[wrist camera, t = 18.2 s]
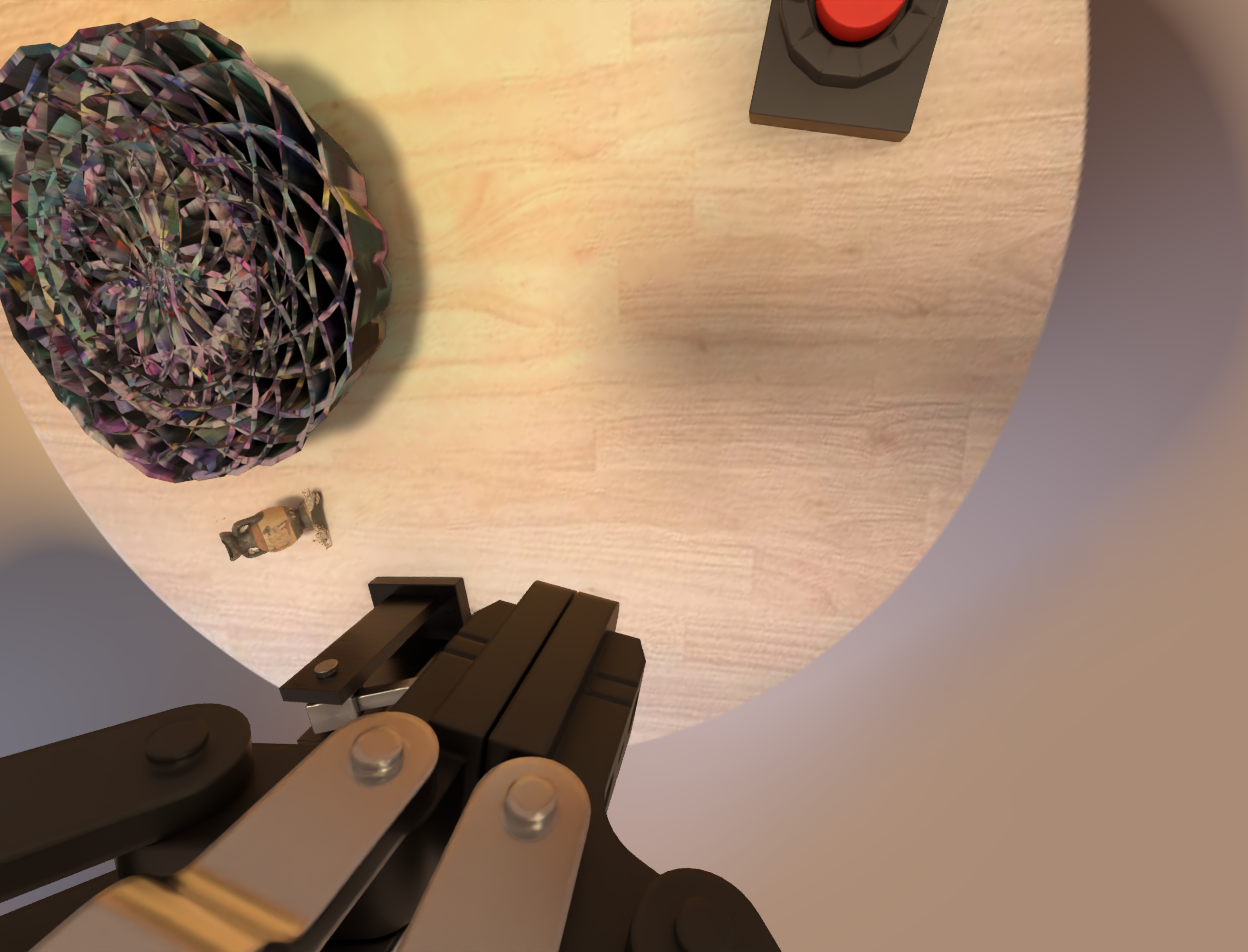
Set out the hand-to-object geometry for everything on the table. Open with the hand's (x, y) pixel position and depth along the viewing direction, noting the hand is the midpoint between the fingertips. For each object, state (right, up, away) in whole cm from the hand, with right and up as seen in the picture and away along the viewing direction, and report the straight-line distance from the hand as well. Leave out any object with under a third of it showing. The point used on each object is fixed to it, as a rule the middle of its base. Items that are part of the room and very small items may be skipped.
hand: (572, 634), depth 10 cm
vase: (-26, 0, +38) cm, 46 cm away
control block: (+13, +26, +20) cm, 35 cm away
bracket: (-15, -9, +38) cm, 42 cm away
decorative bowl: (-25, +18, +32) cm, 44 cm away
